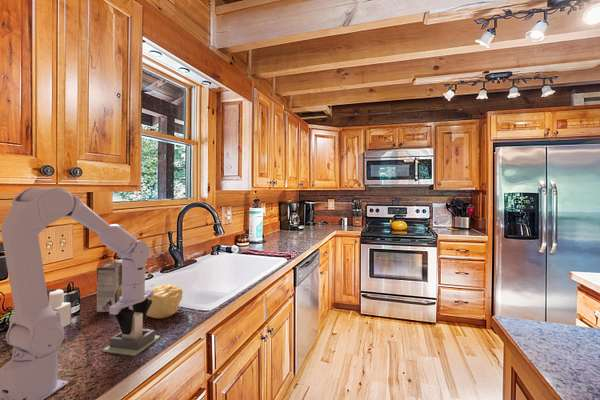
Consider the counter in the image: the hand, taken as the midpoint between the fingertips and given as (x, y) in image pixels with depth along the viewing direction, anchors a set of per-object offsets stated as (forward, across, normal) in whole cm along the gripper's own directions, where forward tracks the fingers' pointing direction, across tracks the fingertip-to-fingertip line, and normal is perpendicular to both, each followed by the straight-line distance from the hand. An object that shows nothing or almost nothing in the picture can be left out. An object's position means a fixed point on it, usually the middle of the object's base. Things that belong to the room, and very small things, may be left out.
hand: (133, 329), depth 83 cm
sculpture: (+4, -20, -5) cm, 21 cm away
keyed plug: (+4, 0, 0) cm, 4 cm away
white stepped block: (+4, -3, -32) cm, 32 cm away
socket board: (+4, 0, 0) cm, 4 cm away
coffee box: (+4, -22, -28) cm, 36 cm away
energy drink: (+4, +11, -16) cm, 20 cm away
